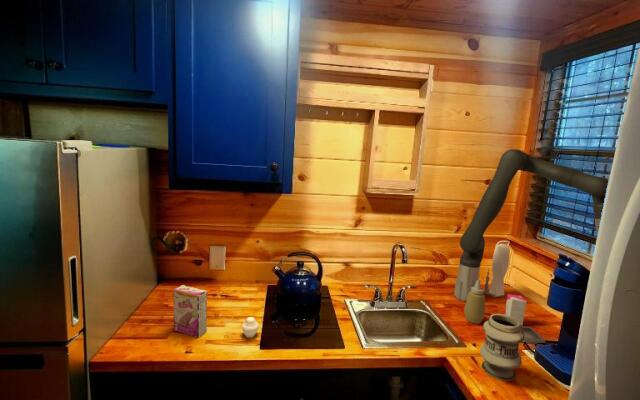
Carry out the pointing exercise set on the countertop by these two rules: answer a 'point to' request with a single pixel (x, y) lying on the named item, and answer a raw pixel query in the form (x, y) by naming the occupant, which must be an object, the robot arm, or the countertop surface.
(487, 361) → the apothecary jar
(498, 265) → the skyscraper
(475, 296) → the squeeze bottle
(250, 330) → the white lidded pot
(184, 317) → the candy bar box
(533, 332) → the socket collar
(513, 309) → the supplement box
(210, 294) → the countertop surface
